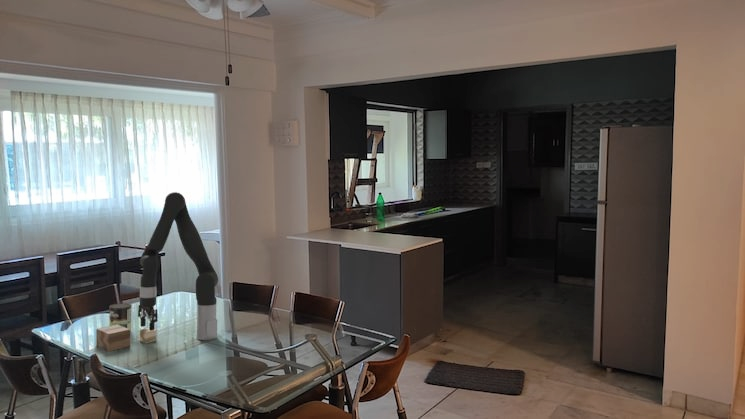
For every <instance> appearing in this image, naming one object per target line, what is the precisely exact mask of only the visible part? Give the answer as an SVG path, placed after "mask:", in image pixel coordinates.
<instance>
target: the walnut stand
mask: <svg viewBox="0 0 745 419" xmlns="http://www.w3.org/2000/svg"><path fill="white" fill-rule="evenodd" d="M95 330H96V334H95V335H96V346H97V347H98V348H100V349H103V350H105V351H108V352H111V351H116V350H121V349H124V348H129V347H131V333H130V329H128V328H125V327H123V326H120V325H113V326H109V325H108V326H104V327H98V328H96V329H95Z"/></svg>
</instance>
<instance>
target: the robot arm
mask: <svg viewBox="0 0 745 419" xmlns="http://www.w3.org/2000/svg"><path fill="white" fill-rule="evenodd" d="M174 222H175V225H176V229H177V233H178V237H179V239H180V243H181V245H182V247H183V249H184V251H185V253H186V254H187V256H188V257H189V258H190V260H191V261H192V262H193V263H194V266H195V267H196V270H197V272H198V276H197V278H196V280H195V299H196V339H197V340H200V341H210V340H214V339H218V319H217V302H218V301H217V297H216V291H215V290H216V287H217V285H218V283H219V277H218V274H217V273H216V270H215V269H214V267H213V265H212V263H211V261H210V259H209V256H208V253H207V250H206V248H205V246H204V243H203V240H202V238H201V235H200V232H199V231H198V228H197V227H196V225H195V224H194V222H193V220H192V218H191V217H190V213H189V210H188V206H187V202H186V198H185V197H184V196H183V194H181V193H180V192H177V191H174V192H170V193H168V194H167V195H166V197H165V200H164V206H163V209H162V213H161V216H160V218H159V221H158V222H157V225H156V227H155V229H154V231H153V233H152V235H151V237H150V240H149V241H148V244H147V246H146V248H145V250H144V251H143V252H142V254H141V257H140V259H139V263H140V266H142V275H141V276H140V287H139V304H138V308H137V309H138V310H137V317H138V318H139V319H140V327H141V328H143V327H145V326H146V320H148V321H149V327H148V328H149V330H150V331H151V330H154V329H155V323H157V322H158V309H155V308H154V306H156V305H157V292H158V291H157V273H158V269H159V262H158V256H159V254H160V252H162V251H163V249H164V247H165V245H166V243H167V241H168V238H169V235H170V233H171V229H172V227H173V224H174ZM146 317H147V319H146Z"/></svg>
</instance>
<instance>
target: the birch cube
mask: <svg viewBox="0 0 745 419" xmlns="http://www.w3.org/2000/svg"><path fill="white" fill-rule="evenodd" d="M139 341H140V342H142V343H144V344H149V343H151V342H156V341H157V329H155V328H154V330H151V331H150V330H149V327H146V328H141V329H139Z"/></svg>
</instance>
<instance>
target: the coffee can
mask: <svg viewBox="0 0 745 419" xmlns="http://www.w3.org/2000/svg"><path fill="white" fill-rule="evenodd" d="M132 306H133V304H131V303H125V302H124V303H123V302H122V303H114V304H110V305H109V306H108V307H109V309H108V310H109V316H108V317H109V321H108V322H109V323H108V324H109V325H108V326H113V325H120V326H123V327H125V328H128V329H130V334H132Z"/></svg>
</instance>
